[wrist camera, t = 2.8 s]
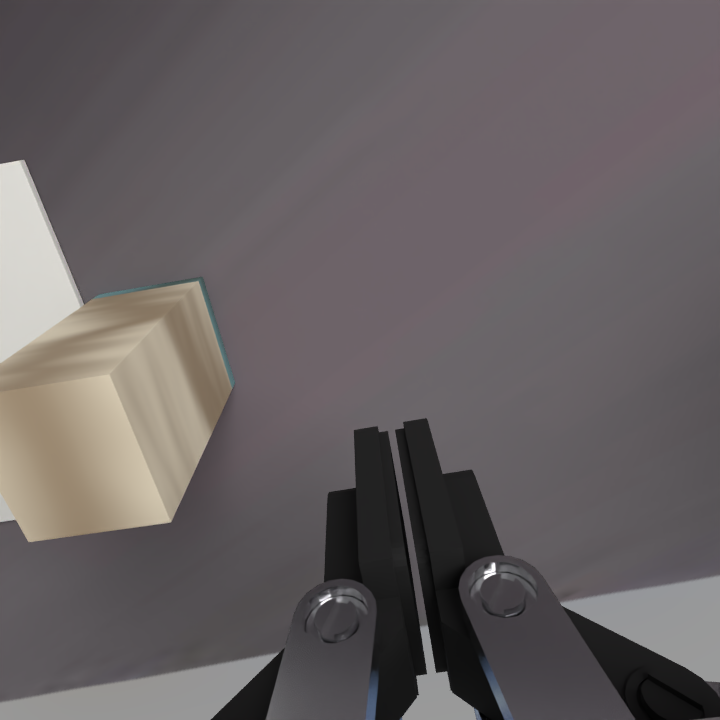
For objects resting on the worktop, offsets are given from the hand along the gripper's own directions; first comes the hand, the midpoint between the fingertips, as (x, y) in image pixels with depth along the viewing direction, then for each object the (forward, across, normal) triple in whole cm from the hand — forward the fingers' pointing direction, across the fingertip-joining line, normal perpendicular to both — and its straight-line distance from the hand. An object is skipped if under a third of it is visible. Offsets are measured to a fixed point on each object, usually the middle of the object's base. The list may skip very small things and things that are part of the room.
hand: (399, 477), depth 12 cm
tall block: (+12, +9, 0) cm, 15 cm away
